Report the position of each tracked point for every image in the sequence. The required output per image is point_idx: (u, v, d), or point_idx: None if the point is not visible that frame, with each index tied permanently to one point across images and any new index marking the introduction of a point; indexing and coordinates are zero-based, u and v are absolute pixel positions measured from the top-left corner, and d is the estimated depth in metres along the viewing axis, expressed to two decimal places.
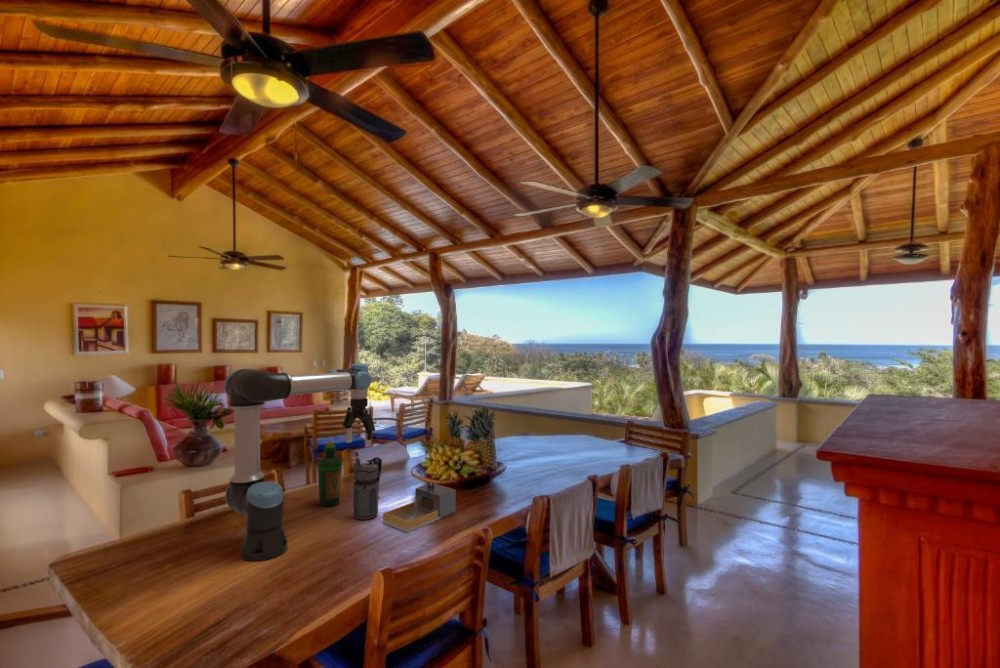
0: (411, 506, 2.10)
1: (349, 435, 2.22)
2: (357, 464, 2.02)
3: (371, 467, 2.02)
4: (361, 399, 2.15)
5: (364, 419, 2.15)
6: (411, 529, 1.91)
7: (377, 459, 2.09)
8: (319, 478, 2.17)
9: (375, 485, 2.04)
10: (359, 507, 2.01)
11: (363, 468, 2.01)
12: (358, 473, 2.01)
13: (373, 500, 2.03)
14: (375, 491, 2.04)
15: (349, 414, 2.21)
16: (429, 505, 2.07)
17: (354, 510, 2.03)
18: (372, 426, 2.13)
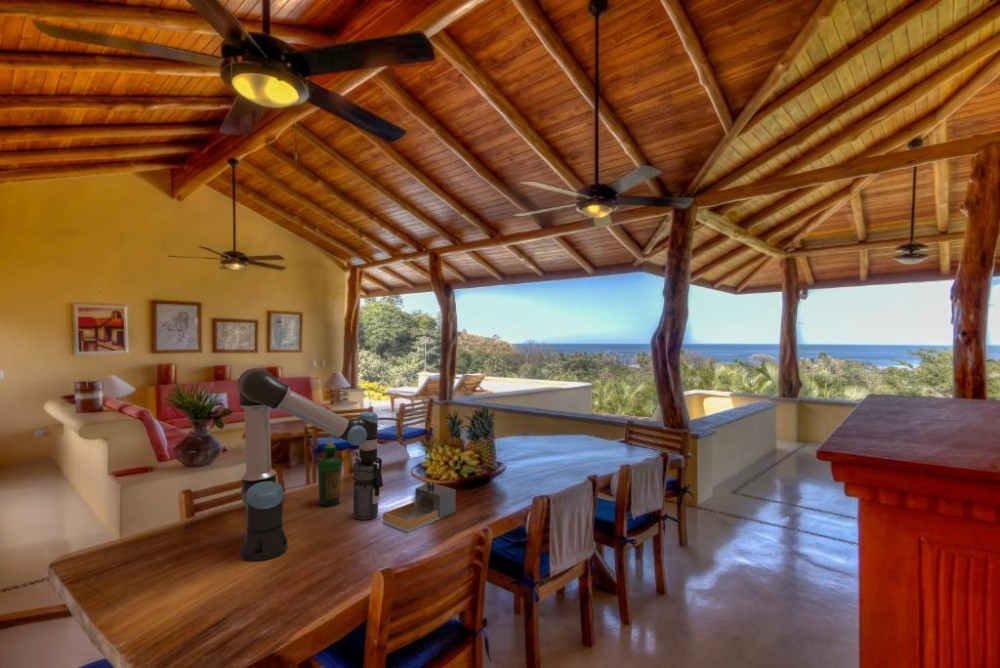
0: (411, 506, 2.10)
1: None
2: (357, 464, 2.02)
3: (371, 467, 2.02)
4: (370, 451, 2.03)
5: None
6: (411, 529, 1.91)
7: (377, 459, 2.09)
8: (319, 478, 2.17)
9: None
10: (359, 507, 2.01)
11: (363, 468, 2.01)
12: (358, 473, 2.01)
13: None
14: None
15: None
16: (429, 505, 2.07)
17: (354, 510, 2.03)
18: (380, 482, 2.02)
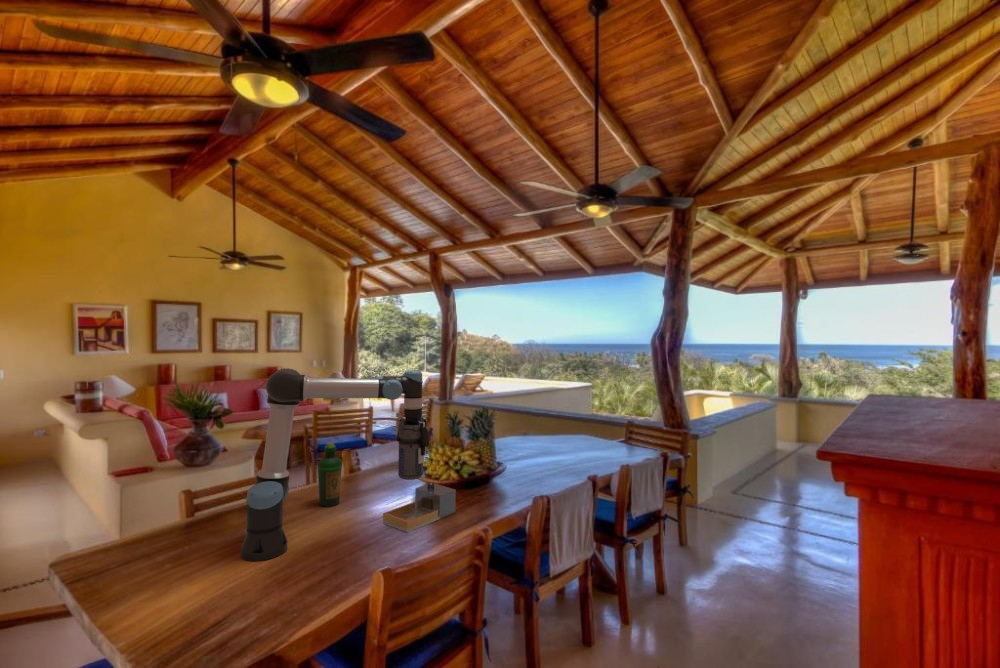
0: (411, 506, 2.10)
1: None
2: (403, 423, 1.97)
3: (417, 426, 1.97)
4: (416, 409, 1.98)
5: None
6: (411, 529, 1.91)
7: (422, 419, 2.04)
8: (319, 478, 2.17)
9: None
10: (405, 467, 1.96)
11: (409, 426, 1.96)
12: (404, 432, 1.96)
13: None
14: None
15: None
16: (429, 505, 2.07)
17: (399, 470, 1.98)
18: (426, 441, 1.96)
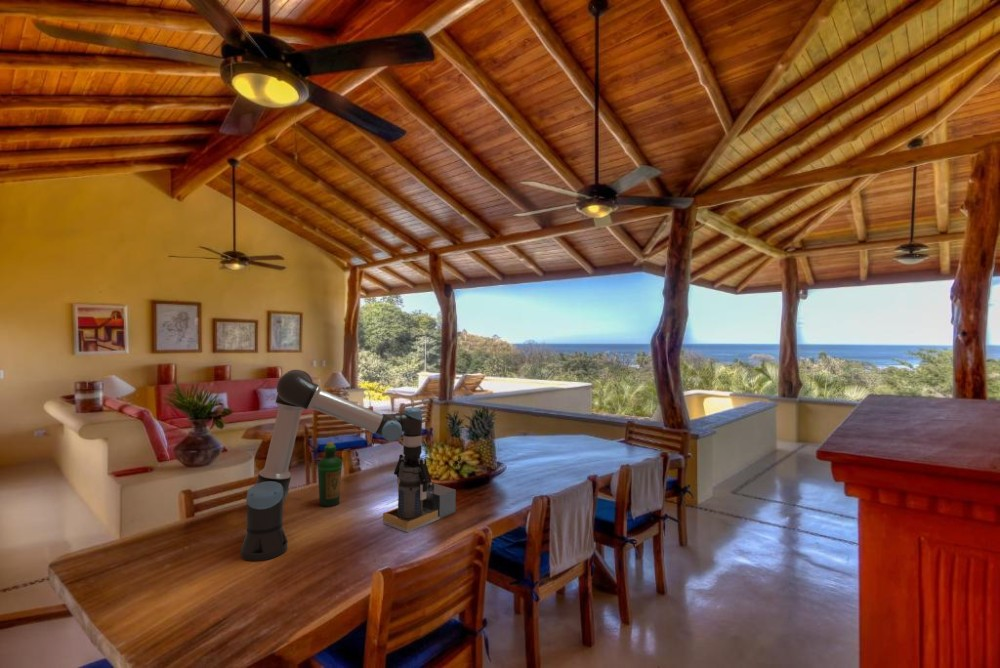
0: None
1: None
2: (403, 465, 1.97)
3: (417, 468, 1.97)
4: (415, 447, 1.98)
5: None
6: (411, 529, 1.91)
7: None
8: (319, 478, 2.17)
9: None
10: (404, 509, 1.96)
11: (409, 469, 1.96)
12: (404, 474, 1.96)
13: (418, 502, 1.98)
14: None
15: None
16: (429, 505, 2.07)
17: (399, 512, 1.98)
18: (428, 477, 1.96)
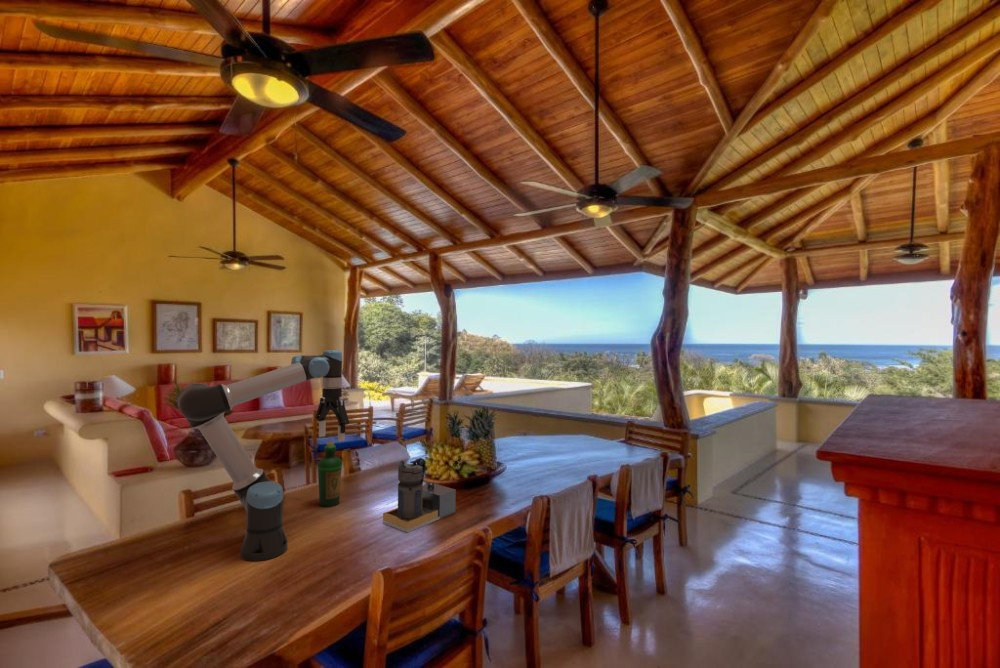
0: None
1: (322, 428, 2.03)
2: (402, 465, 1.97)
3: (416, 468, 1.97)
4: (334, 389, 1.96)
5: (337, 411, 1.96)
6: (411, 529, 1.91)
7: (421, 460, 2.04)
8: (319, 478, 2.17)
9: (420, 487, 1.99)
10: (404, 509, 1.96)
11: (408, 469, 1.96)
12: (403, 474, 1.96)
13: (418, 502, 1.98)
14: (420, 493, 1.99)
15: (322, 405, 2.02)
16: (429, 505, 2.07)
17: (399, 512, 1.98)
18: (346, 418, 1.93)
